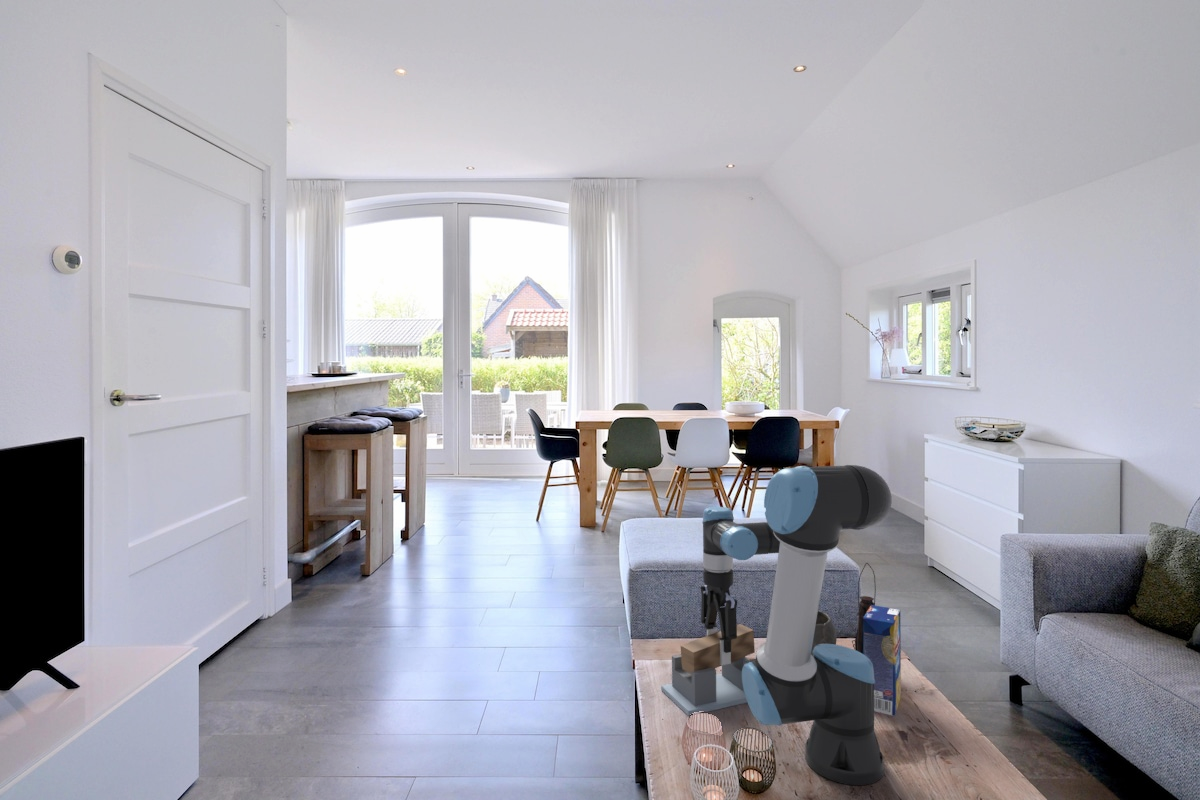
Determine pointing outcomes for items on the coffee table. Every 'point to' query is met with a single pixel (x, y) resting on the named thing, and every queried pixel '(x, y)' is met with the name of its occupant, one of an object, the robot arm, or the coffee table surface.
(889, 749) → the coffee table surface
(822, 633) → the bowl
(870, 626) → the beverage box
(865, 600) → the lantern
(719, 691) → the bracket
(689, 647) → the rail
